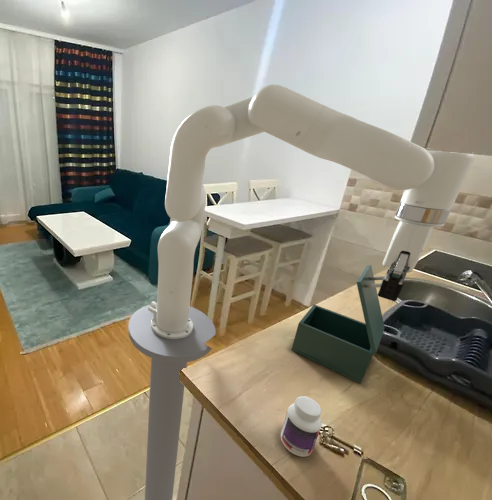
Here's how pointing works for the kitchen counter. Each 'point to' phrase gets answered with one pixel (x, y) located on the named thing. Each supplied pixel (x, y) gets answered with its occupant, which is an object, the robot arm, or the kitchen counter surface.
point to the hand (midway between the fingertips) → (388, 292)
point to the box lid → (371, 306)
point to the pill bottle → (301, 426)
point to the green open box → (334, 342)
